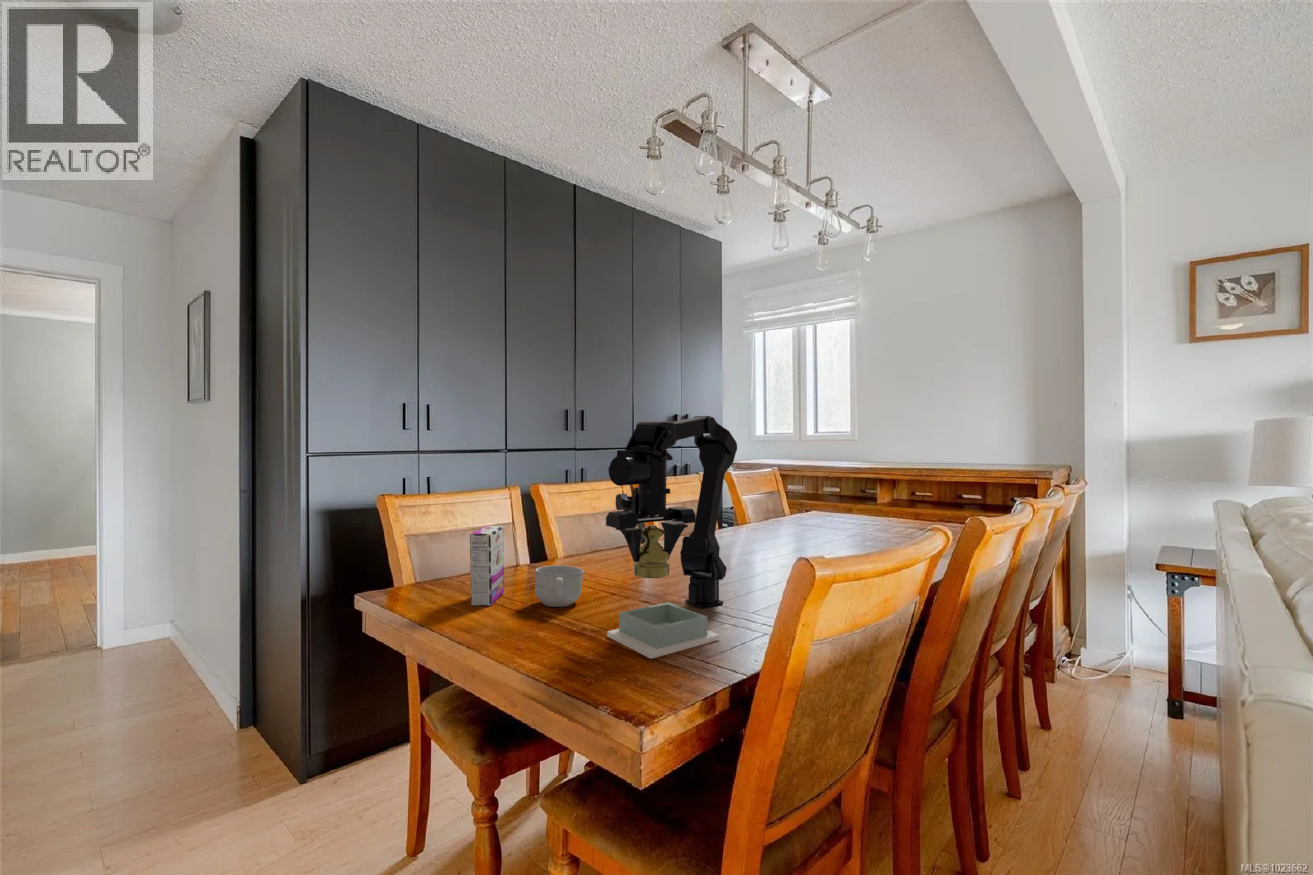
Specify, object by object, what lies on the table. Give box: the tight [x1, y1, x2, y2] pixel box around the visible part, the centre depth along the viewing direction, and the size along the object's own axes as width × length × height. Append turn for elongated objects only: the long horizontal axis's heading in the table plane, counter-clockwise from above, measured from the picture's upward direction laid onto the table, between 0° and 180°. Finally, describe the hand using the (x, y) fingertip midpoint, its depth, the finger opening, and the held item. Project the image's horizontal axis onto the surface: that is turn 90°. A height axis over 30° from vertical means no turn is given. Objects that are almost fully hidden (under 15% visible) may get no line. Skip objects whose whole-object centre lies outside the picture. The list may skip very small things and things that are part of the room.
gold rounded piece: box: [633, 524, 671, 579], centre depth 122 cm, size 7×7×10 cm
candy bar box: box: [469, 525, 505, 607], centre depth 140 cm, size 11×5×16 cm, turn 179°
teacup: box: [534, 564, 584, 608], centre depth 135 cm, size 14×11×8 cm
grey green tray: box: [607, 601, 720, 659], centre depth 114 cm, size 16×14×4 cm
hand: (651, 559), depth 122 cm, fingers closed on gold rounded piece, 7 cm apart
